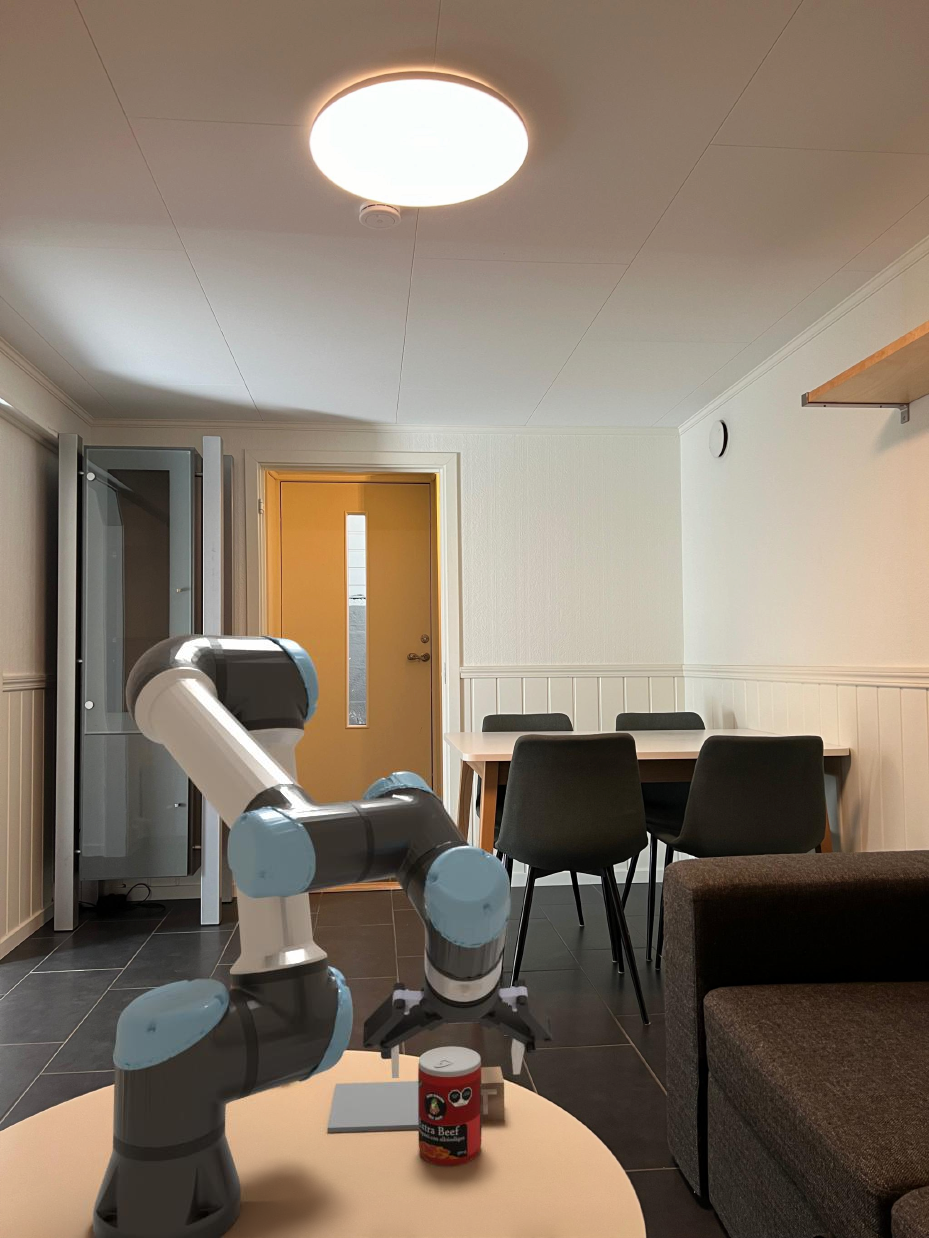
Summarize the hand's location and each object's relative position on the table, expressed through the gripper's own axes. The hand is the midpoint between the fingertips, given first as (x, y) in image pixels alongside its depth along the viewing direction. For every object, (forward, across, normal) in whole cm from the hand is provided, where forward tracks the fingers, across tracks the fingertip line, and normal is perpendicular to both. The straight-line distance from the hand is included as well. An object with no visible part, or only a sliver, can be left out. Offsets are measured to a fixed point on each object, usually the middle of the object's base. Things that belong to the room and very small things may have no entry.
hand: (455, 1063), depth 102 cm
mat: (+26, -9, +6) cm, 28 cm away
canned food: (+18, 0, -3) cm, 18 cm away
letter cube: (+24, +5, +4) cm, 25 cm away
